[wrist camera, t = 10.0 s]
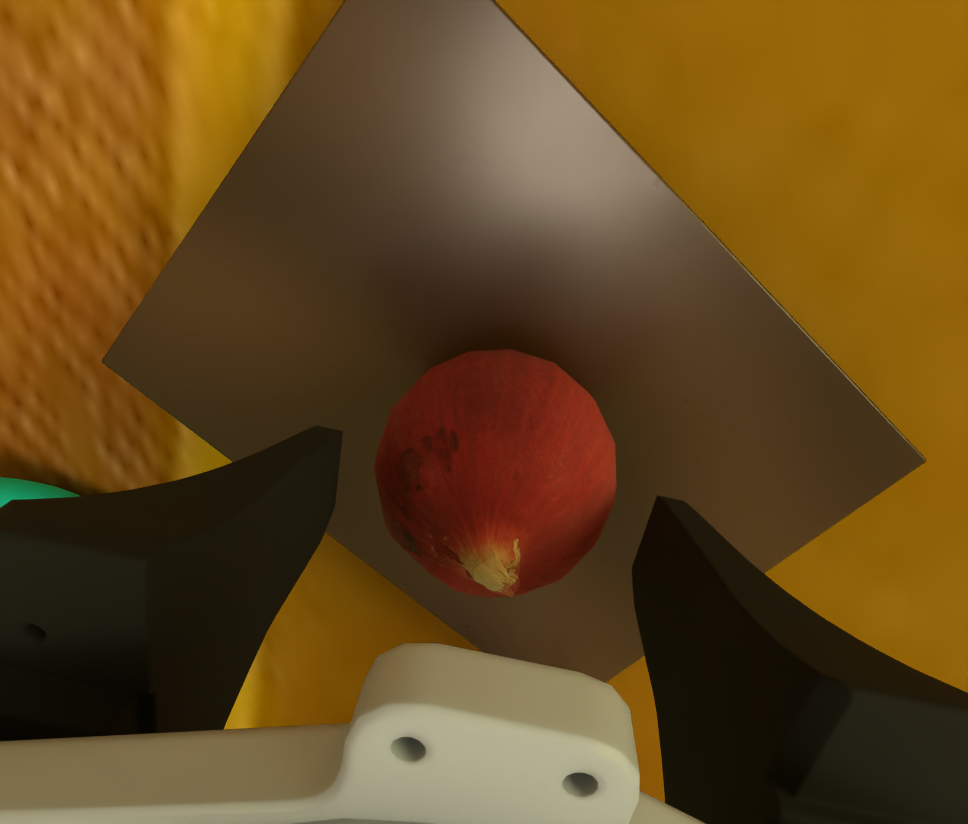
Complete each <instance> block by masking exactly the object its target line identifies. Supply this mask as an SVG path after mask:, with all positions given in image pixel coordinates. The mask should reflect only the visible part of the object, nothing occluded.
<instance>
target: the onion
mask: <svg viewBox="0 0 968 824" xmlns="http://www.w3.org/2000/svg"><path fill="white" fill-rule="evenodd" d="M374 471H375V476H376V482H377V487H378V492H379V497H380V502H381V508H382V513H383V518H384V523H385V527H386V529H387V530H388V532H389V533H390V535H391V536H392V538H393V539H394V540H395V541H396V542H397V543H398V544H399V545H400V546H401V547H402V548H403V549H404V550H405V551H406V552H407V553H408V554H409V555H410V556H411V557H412V558H413V559H414V560H415V561H417V562H418V563H419V564H420V565H421V566H422V567H423V568H424V569H425V570H426V571H427V572H428V573H429V574H431V575H432V576H433V577H435V578H436V579H438V580H440V581H441V582H443V583H444V584H446V585H447V586H449V587H451V588H452V589H454V590H455V591H458V592H460V593H465V594H470V595H476V596H481V597H487V598H494V597H505V596H510V597H512V596H516V595H523V594H526V593H528V592H530V591H533V590H535V589H537V588H540V587H543V586H546V585H548V584H551V583H554V582H557V581H559V580H561V579H562V578H563V577H564V576H565V575H567V574H568V573H569V572H570V571H571V570H572V569H573V568H574V566H575V565H576V564H577V563H578V562H579V561H580V560H581V559H582V558H583V557H584V556H585V555H586V554H587V553H588V552H589V551H590V550H591V549H592V548H593V547H594V546H595V544H596V542H597V541H598V539H599V538H600V536H601V533H602V531H603V528H604V526H605V523H606V521H607V518H608V516H609V513H610V511H611V508H612V506H613V503H614V501H615V493H616V485H617V482H616V457H615V442H614V440H613V437H612V435H611V433H610V431H609V429H608V427H607V425H606V423H605V421H604V418H603V416H602V414H601V412H600V410H599V408H598V406H597V404H596V402H595V400H594V399H593V397H592V396H591V395H590V394H589V392H587V391H586V390H585V389H584V388H583V387H582V386H581V385H579V384H578V383H577V382H576V381H575V380H574V379H573V378H571V377H570V376H569V375H568V374H567V373H566V372H565V371H563V370H562V369H561V368H560V367H559V366H558V365H557V364H555V363H554V362H551V361H547V360H544V359H541V358H538V357H535V356H532V355H529V354H526V353H522V352H519V351H516V350H513V349H504V350H484V351H469V352H466V353H464V354H462V355H460V356H457V357H455V358H453V359H450V360H448V361H446V362H443V363H441V364H439V365H436V366H434V367H432V368H431V369H429V370H428V371H427V372H426V373H425V374H424V375H422V376H421V377H420V378H419V379H418V381H417V382H416V383H415V384H414V385H413V386H412V387H411V388H410V389H409V390H408V391H407V392H406V393H405V394H404V396H403V397H402V398H401V399H400V400H399V401H398V402H397V403H396V404H395V405H394V406H393V407H392V408H391V411H390V414H389V417H388V420H387V423H386V426H385V429H384V432H383V435H382V438H381V441H380V444H379V447H378V450H377V455H376V460H375V466H374Z"/></svg>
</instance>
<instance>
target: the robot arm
mask: <svg viewBox="0 0 968 824" xmlns="http://www.w3.org/2000/svg"><path fill="white" fill-rule="evenodd" d="M342 435H343V431H341V430H336V429H331V428H326V427H321V426H314V427H311V428H309V429H307V430H304V431H302V432H300V433H298V434H296V435H294V436H292V437H290V438H287V439H285V440H283V441H281V442H279V443H277V444H275V445H272V446H270V447H268V448H266V449H264V450H262V451H259V452H257V453H255V454H252V455H250V456H247V457H245V458H242V459H240V460H237V461H235V462H232V463H230V464H227V465H225V466H222V467H219V468H216V469H213V470H210V471H207V472H204V473H201V474H197V475H194V476H191V477H187V478H184V479H180V480H176V481H171V482H167V483H162V484H157V485H152V486H148V487H143V488H138V489H133V490H127V491H120V492H113V493H106V494H97V495H88V496H77V497H63V498H43V499H18V500H11V501H9V502H8V503H6V504H5V505H3V506H2V507H0V824H968V693H967V692H964V691H962V690H960V689H958V688H955V687H953V686H951V685H949V684H946V683H944V682H942V681H940V680H937V679H935V678H933V677H931V676H928V675H926V674H924V673H922V672H919V671H917V670H915V669H913V668H911V667H909V666H907V665H905V664H903V663H901V662H899V661H897V660H895V659H894V658H892V657H890V656H888V655H886V654H884V653H882V652H880V651H878V650H876V649H875V648H873V647H871V646H869V645H867V644H866V643H864V642H862V641H860V640H858V639H857V638H855V637H853V636H852V635H850V634H848V633H847V632H845V631H844V630H842V629H840V628H839V627H837V626H835V625H834V624H832V623H831V622H829V621H827V620H826V619H824V618H823V617H821V616H820V615H818V614H817V613H815V612H814V611H812V610H811V609H809V608H808V607H807V606H805V605H804V604H803V603H801V602H800V601H798V600H797V599H796V598H794V597H793V596H792V595H790V594H789V593H787V592H786V591H785V590H783V589H782V588H781V587H780V586H778V585H777V584H776V583H775V582H773V581H772V580H771V579H770V578H769V577H767V576H766V575H765V574H764V573H763V572H761V571H760V570H759V569H758V568H757V567H756V566H754V565H753V564H752V563H751V562H750V561H749V560H748V559H747V558H745V557H744V556H743V555H742V554H741V553H740V552H739V551H738V550H737V549H736V548H735V547H733V546H732V545H731V544H730V543H729V542H728V541H727V540H726V539H725V538H724V537H723V536H722V535H721V534H720V533H719V532H718V531H717V530H716V529H715V528H714V527H713V526H712V525H710V524H709V523H708V522H707V521H706V520H705V519H704V518H703V517H702V516H701V515H700V514H699V513H698V512H697V511H696V510H695V509H693V508H692V507H691V506H690V505H689V504H687V503H686V502H685V501H683V500H678V499H673V498H668V497H663V496H658V495H657V497H656V500H655V502H654V505H653V508H652V511H651V514H650V517H649V520H648V523H647V525H646V528H645V531H644V534H643V537H642V540H641V543H640V545H639V548H638V551H637V554H636V557H635V560H634V563H633V565H632V585H633V598H634V608H635V613H636V618H637V622H638V627H639V632H640V636H641V641H642V645H643V650H644V654H645V658H646V663H647V667H648V672H649V676H650V681H651V685H652V689H653V694H654V700H655V705H656V711H657V719H658V728H659V737H660V747H661V756H662V768H663V779H664V791H665V803H664V802H662V801H660V800H658V799H656V798H654V797H652V796H650V795H648V794H646V793H644V792H642V791H640V790H639V780H640V774H639V767H638V761H637V755H636V748H635V742H634V735H633V729H632V722H631V716H630V710H629V707H628V706H627V704H626V703H625V702H624V701H623V699H622V698H621V697H620V695H619V694H618V693H617V692H616V690H615V689H614V688H613V686H611V685H609V684H607V683H604V682H602V681H600V680H597V679H595V678H593V677H590V676H588V675H586V674H583V673H581V672H576V671H571V670H566V669H561V668H556V667H551V666H546V665H542V664H537V663H532V662H527V661H522V660H517V659H512V658H507V657H503V656H498V655H493V654H488V653H483V652H478V651H473V650H468V649H463V648H459V647H454V646H449V645H444V644H439V643H403V644H401V645H399V646H397V647H395V648H393V649H391V650H389V651H387V652H385V653H383V654H381V655H379V656H377V657H376V659H375V661H374V663H373V665H372V667H371V668H370V670H369V672H368V674H367V676H366V677H365V680H364V683H363V686H362V689H361V692H360V695H359V698H358V701H357V705H356V708H355V711H354V714H353V717H352V720H351V722H350V723H342V724H323V725H304V726H285V727H266V728H247V729H227V730H223V729H224V727H225V724H226V722H227V719H228V717H229V715H230V712H231V710H232V708H233V705H234V703H235V701H236V699H237V696H238V694H239V692H240V690H241V687H242V685H243V683H244V681H245V678H246V676H247V674H248V672H249V669H250V667H251V665H252V663H253V661H254V659H255V656H256V654H257V652H258V650H259V648H260V646H261V644H262V641H263V639H264V637H265V635H266V633H267V631H268V629H269V627H270V625H271V624H272V622H273V620H274V618H275V616H276V615H277V613H278V611H279V610H280V608H281V606H282V605H283V603H284V602H285V600H286V598H287V597H288V595H289V593H290V592H291V590H292V588H293V587H294V585H295V583H296V582H297V580H298V579H299V577H300V575H301V574H302V572H303V570H304V569H305V567H306V565H307V564H308V562H309V560H310V559H311V557H312V555H313V554H314V552H315V550H316V549H317V547H318V545H319V544H320V542H321V539H322V537H323V535H324V533H325V530H326V528H327V526H328V523H329V521H330V518H331V516H332V513H333V511H334V509H335V503H336V493H337V483H338V474H339V464H340V455H341V445H342Z"/></svg>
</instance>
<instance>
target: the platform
mask: <svg viewBox="0 0 968 824" xmlns="http://www.w3.org/2000/svg"><path fill="white" fill-rule="evenodd" d="M504 349H513V350H516V351H519V352H522V353H526V354H529V355H532V356H535V357H538V358H541V359H544V360H547V361H551V362H554V363H555V364H557V365H558V366H559V367H560V368H561V369H562V370H563V371H565V372H566V373H567V374H568V375H569V376H570V377H571V378H573V379H574V380H575V381H576V382H577V383H578V384H579V385H581V386H582V387H583V388H584V389H585V390H586V391H587V392H589V394H590V395H591V396H592V397H593V399H594V400H595V402H596V404H597V406H598V408H599V410H600V412H601V414H602V416H603V418H604V421H605V423H606V425H607V427H608V429H609V431H610V433H611V435H612V437H613V440H614V442H615V457H616V482H617V485H616V493H615V501H614V503H613V506H612V508H611V511H610V513H609V516H608V518H607V521H606V523H605V526H604V528H603V531H602V533H601V536H600V538H599V539H598V541H597V542H596V544H595V546H594V547H593V548H592V549H591V550H590V551H589V552H588V553H587V554H586V555H585V556H584V557H583V558H582V559H581V560H580V561H579V562H578V563H577V564H576V565H575V566H574V568H573V569H572V570H571V571H570V572H569V573H568V574H567V575H565V576H564V577H563V578H562V579H561V580H559V581H557V582H554V583H551V584H548V585H546V586H543V587H540V588H537V589H535V590H533V591H530V592H528V593H526V594H523V595H516V596H512V597H510V596H505V597H494V598H487V597H481V596H476V595H470V594H465V593H460V592H458V591H455V590H454V589H452V588H451V587H449V586H447V585H446V584H444V583H443V582H441V581H440V580H438V579H436V578H435V577H433V576H432V575H431V574H429V573H428V572H427V571H426V570H425V569H424V568H423V567H422V566H421V565H420V564H419V563H418V562H417V561H415V560H414V559H413V558H412V557H411V556H410V555H409V554H408V553H407V552H406V551H405V550H404V549H403V548H402V547H401V546H400V545H399V544H398V543H397V542H396V541H395V540H394V539H393V538H392V536H391V535H390V533H389V532H388V530H387V529H386V527H385V523H384V518H383V513H382V508H381V502H380V497H379V492H378V487H377V482H376V476H375V471H374V466H375V460H376V455H377V450H378V447H379V444H380V441H381V438H382V435H383V432H384V429H385V426H386V423H387V420H388V417H389V414H390V411H391V408H392V407H393V406H394V405H395V404H396V403H397V402H398V401H399V400H400V399H401V398H402V397H403V396H404V394H405V393H406V392H407V391H408V390H409V389H410V388H411V387H412V386H413V385H414V384H415V383H416V382H417V381H418V379H419V378H420V377H421V376H422V375H424V374H425V373H426V372H427V371H428V370H429V369H431V368H432V367H434V366H436V365H439V364H441V363H443V362H446V361H448V360H450V359H453V358H455V357H457V356H460V355H462V354H464V353H466V352H469V351H484V350H504ZM102 363H103V364H105V365H106V366H107V367H109V368H110V369H111V370H113V371H114V372H115V373H117V374H118V375H119V376H121V377H122V378H123V379H125V380H126V381H127V382H128V383H130V384H131V385H132V386H134V387H135V388H136V389H138V390H139V391H140V392H142V393H143V394H144V395H146V396H147V397H148V398H150V399H151V400H152V401H154V402H155V403H156V404H157V405H159V406H160V407H161V408H163V409H164V410H165V411H167V412H168V413H169V414H171V415H172V416H173V417H175V418H176V419H177V420H179V421H180V422H181V423H182V424H184V425H185V426H186V427H188V428H189V429H190V430H192V431H193V432H194V433H196V434H197V435H198V436H200V437H201V438H202V439H204V440H205V441H206V442H207V443H209V444H210V445H211V446H213V447H214V448H215V449H217V450H218V451H219V452H221V453H222V454H223V455H225V456H226V457H227V458H229V459H230V460H231V461H232V462H235V461H237V460H240V459H242V458H245V457H247V456H250V455H252V454H255V453H257V452H259V451H262V450H264V449H266V448H268V447H270V446H272V445H275V444H277V443H279V442H281V441H283V440H285V439H287V438H290V437H292V436H294V435H296V434H298V433H300V432H302V431H304V430H307V429H309V428H311V427H314V426H321V427H326V428H331V429H336V430H341V431H343V435H342V445H341V455H340V464H339V474H338V483H337V493H336V503H335V509H334V511H333V513H332V516H331V518H330V521H329V523H328V526H327V528H326V530H325V532H326V533H327V534H329V535H330V536H331V537H333V538H334V539H335V540H336V541H338V542H339V543H340V544H342V545H343V546H344V547H346V548H347V549H348V550H350V551H351V552H352V553H354V554H355V555H356V556H358V557H359V558H360V559H362V560H363V561H364V562H365V563H367V564H368V565H369V566H371V567H372V568H373V569H375V570H376V571H377V572H379V573H380V574H381V575H383V576H384V577H385V578H387V579H388V580H389V581H390V582H392V583H393V584H394V585H396V586H397V587H398V588H400V589H401V590H402V591H404V592H405V593H406V594H408V595H409V596H410V597H412V598H413V599H414V600H415V601H417V602H418V603H419V604H421V605H422V606H423V607H425V608H426V609H427V610H429V611H430V612H431V613H433V614H434V615H435V616H437V617H438V618H439V619H440V620H442V621H443V622H444V623H446V624H447V625H448V626H450V627H451V628H452V629H454V630H455V631H456V632H458V633H459V634H460V635H462V636H463V637H464V638H466V639H467V640H468V641H469V642H471V643H472V644H473V645H475V646H476V647H477V648H479V649H480V650H481V651H483V652H484V653H488V654H493V655H498V656H503V657H507V658H512V659H517V660H522V661H527V662H532V663H537V664H542V665H546V666H551V667H556V668H561V669H566V670H571V671H576V672H581V673H583V674H586V675H588V676H590V677H593V678H595V679H597V680H600V681H602V682H604V683H605V682H607V681H608V680H610V679H611V678H613V677H614V676H616V675H617V674H619V673H620V672H621V671H623V670H624V669H626V668H627V667H629V666H630V665H632V664H633V663H635V662H636V661H637V660H639V659H640V658H642V657H643V656H645V654H644V650H643V645H642V641H641V636H640V632H639V627H638V622H637V618H636V613H635V608H634V598H633V585H632V565H633V563H634V560H635V557H636V554H637V551H638V548H639V545H640V543H641V540H642V537H643V534H644V531H645V528H646V525H647V523H648V520H649V517H650V514H651V511H652V508H653V505H654V502H655V500H656V497H657V495H658V496H663V497H668V498H673V499H678V500H683V501H685V502H686V503H687V504H689V505H690V506H691V507H692V508H693V509H695V510H696V511H697V512H698V513H699V514H700V515H701V516H702V517H703V518H704V519H705V520H706V521H707V522H708V523H709V524H710V525H712V526H713V527H714V528H715V529H716V530H717V531H718V532H719V533H720V534H721V535H722V536H723V537H724V538H725V539H726V540H727V541H728V542H729V543H730V544H731V545H732V546H733V547H735V548H736V549H737V550H738V551H739V552H740V553H741V554H742V555H743V556H744V557H745V558H747V559H748V560H749V561H750V562H751V563H752V564H753V565H754V566H756V567H757V568H758V569H759V570H760V571H761V572H763V573H765V572H767V571H768V570H769V569H771V568H772V567H774V566H775V565H777V564H778V563H780V562H781V561H782V560H784V559H785V558H787V557H788V556H790V555H791V554H793V553H794V552H796V551H797V550H798V549H800V548H801V547H803V546H804V545H806V544H807V543H809V542H810V541H811V540H813V539H814V538H816V537H817V536H819V535H820V534H822V533H823V532H825V531H826V530H827V529H829V528H830V527H832V526H833V525H835V524H836V523H838V522H839V521H840V520H842V519H843V518H845V517H846V516H848V515H849V514H851V513H852V512H854V511H855V510H856V509H858V508H859V507H861V506H862V505H864V504H865V503H867V502H868V501H869V500H871V499H872V498H874V497H875V496H877V495H878V494H880V493H881V492H883V491H884V490H885V489H887V488H888V487H890V486H891V485H893V484H894V483H896V482H897V481H899V480H900V479H901V478H903V477H904V476H906V475H907V474H909V473H910V472H912V471H913V470H914V469H916V468H917V467H919V466H920V465H922V464H923V463H925V462H926V459H925V457H924V456H923V455H922V454H921V453H920V452H919V451H918V450H917V449H916V448H915V447H914V446H913V445H912V444H911V442H910V441H909V440H908V439H907V438H906V437H905V436H904V435H903V434H902V433H901V432H900V431H899V430H898V429H897V428H896V427H895V425H894V424H893V423H892V422H891V421H890V420H889V419H888V418H887V417H886V416H885V415H884V414H883V413H882V412H881V411H880V410H879V408H878V407H877V406H876V405H875V404H874V403H873V402H872V401H871V400H870V399H869V398H868V397H867V396H866V395H865V394H864V392H863V391H862V390H861V389H860V388H859V387H858V386H857V385H856V384H855V383H854V382H853V381H852V380H851V379H850V378H849V377H848V375H847V374H846V373H845V372H844V371H843V370H842V369H841V368H840V367H839V366H838V365H837V364H836V363H835V362H834V361H833V360H832V358H831V357H830V356H829V355H828V354H827V353H826V352H825V351H824V350H823V349H822V348H821V347H820V346H819V345H818V344H817V343H816V341H815V340H814V339H813V338H812V337H811V336H810V335H809V334H808V333H807V332H806V331H805V330H804V329H803V328H802V327H801V326H800V324H799V323H798V322H797V321H796V320H795V319H794V318H793V317H792V316H791V315H790V314H789V313H788V312H787V311H786V310H785V309H784V307H783V306H782V305H781V304H780V303H779V302H778V301H777V300H776V299H775V298H774V297H773V296H772V295H771V294H770V293H769V292H768V290H767V289H766V288H765V287H764V286H763V285H762V284H761V283H760V282H759V281H758V280H757V279H756V278H755V277H754V276H753V275H752V273H751V272H750V271H749V270H748V269H747V268H746V267H745V266H744V265H743V264H742V263H741V262H740V261H739V260H738V259H737V257H736V256H735V255H734V254H733V253H732V252H731V251H730V250H729V249H728V248H727V247H726V246H725V245H724V244H723V243H722V242H721V240H720V239H719V238H718V237H717V236H716V235H715V234H714V233H713V232H712V231H711V230H710V229H709V228H708V227H707V226H706V225H705V223H704V222H703V221H702V220H701V219H700V218H699V217H698V216H697V215H696V214H695V213H694V212H693V211H692V210H691V209H690V208H689V206H688V205H687V204H686V203H685V202H684V201H683V200H682V199H681V198H680V197H679V196H678V195H677V194H676V193H675V192H674V191H673V189H672V188H671V187H670V186H669V185H668V184H667V183H666V182H665V181H664V180H663V179H662V178H661V177H660V176H659V175H658V174H657V172H656V171H655V170H654V169H653V168H652V167H651V166H650V165H649V164H648V163H647V162H646V161H645V160H644V159H643V158H642V157H641V155H640V154H639V153H638V152H637V151H636V150H635V149H634V148H633V147H632V146H631V145H630V144H629V143H628V142H627V141H626V140H625V138H624V137H623V136H622V135H621V134H620V133H619V132H618V131H617V130H616V129H615V128H614V127H613V126H612V125H611V124H610V122H609V121H608V120H607V119H606V118H605V117H604V116H603V115H602V114H601V113H600V112H599V111H598V110H597V109H596V108H595V107H594V105H593V104H592V103H591V102H590V101H589V100H588V99H587V98H586V97H585V96H584V95H583V94H582V93H581V92H580V91H579V90H578V88H577V87H576V86H575V85H574V84H573V83H572V82H571V81H570V80H569V79H568V78H567V77H566V76H565V75H564V74H563V73H562V71H561V70H560V69H559V68H558V67H557V66H556V65H555V64H554V63H553V62H552V61H551V60H550V59H549V58H548V57H547V56H546V54H545V53H544V52H543V51H542V50H541V49H540V48H539V47H538V46H537V45H536V44H535V43H534V42H533V41H532V40H531V39H530V37H529V36H528V35H527V34H526V33H525V32H524V31H523V30H522V29H521V28H520V27H519V26H518V25H517V24H516V23H515V22H514V20H513V19H512V18H511V17H510V16H509V15H508V14H507V13H506V12H505V11H504V10H503V9H502V8H501V7H500V6H499V5H498V3H497V2H496V1H495V0H344V1H343V3H342V4H341V6H340V7H339V9H338V10H337V12H336V13H335V15H334V16H333V18H332V19H331V21H330V22H329V24H328V25H327V27H326V28H325V30H324V31H323V33H322V34H321V36H320V37H319V39H318V40H317V42H316V43H315V44H314V46H313V47H312V49H311V50H310V52H309V53H308V55H307V56H306V58H305V59H304V61H303V62H302V64H301V65H300V67H299V68H298V70H297V71H296V73H295V74H294V76H293V77H292V79H291V80H290V82H289V83H288V85H287V86H286V88H285V89H284V91H283V92H282V94H281V95H280V97H279V98H278V99H277V101H276V102H275V104H274V105H273V107H272V108H271V110H270V111H269V113H268V114H267V116H266V117H265V119H264V120H263V122H262V123H261V125H260V126H259V128H258V129H257V131H256V132H255V134H254V135H253V137H252V138H251V140H250V141H249V143H248V144H247V146H246V147H245V149H244V150H243V151H242V153H241V154H240V156H239V157H238V159H237V160H236V162H235V163H234V165H233V166H232V168H231V169H230V171H229V172H228V174H227V175H226V177H225V178H224V180H223V181H222V183H221V184H220V186H219V187H218V189H217V190H216V192H215V193H214V195H213V196H212V198H211V199H210V201H209V202H208V204H207V205H206V206H205V208H204V209H203V211H202V212H201V214H200V215H199V217H198V218H197V220H196V221H195V223H194V224H193V226H192V227H191V229H190V230H189V232H188V233H187V235H186V236H185V238H184V239H183V241H182V242H181V244H180V245H179V247H178V248H177V250H176V251H175V253H174V254H173V256H172V257H171V258H170V260H169V261H168V263H167V264H166V266H165V267H164V269H163V270H162V272H161V273H160V275H159V276H158V278H157V279H156V281H155V282H154V284H153V285H152V287H151V288H150V290H149V291H148V293H147V294H146V296H145V297H144V299H143V300H142V302H141V303H140V305H139V306H138V308H137V309H136V310H135V312H134V313H133V315H132V316H131V318H130V319H129V321H128V322H127V324H126V325H125V327H124V328H123V330H122V331H121V333H120V334H119V336H118V337H117V339H116V340H115V342H114V343H113V345H112V346H111V348H110V349H109V351H108V352H107V354H106V355H105V357H104V358H103V360H102Z"/></svg>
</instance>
